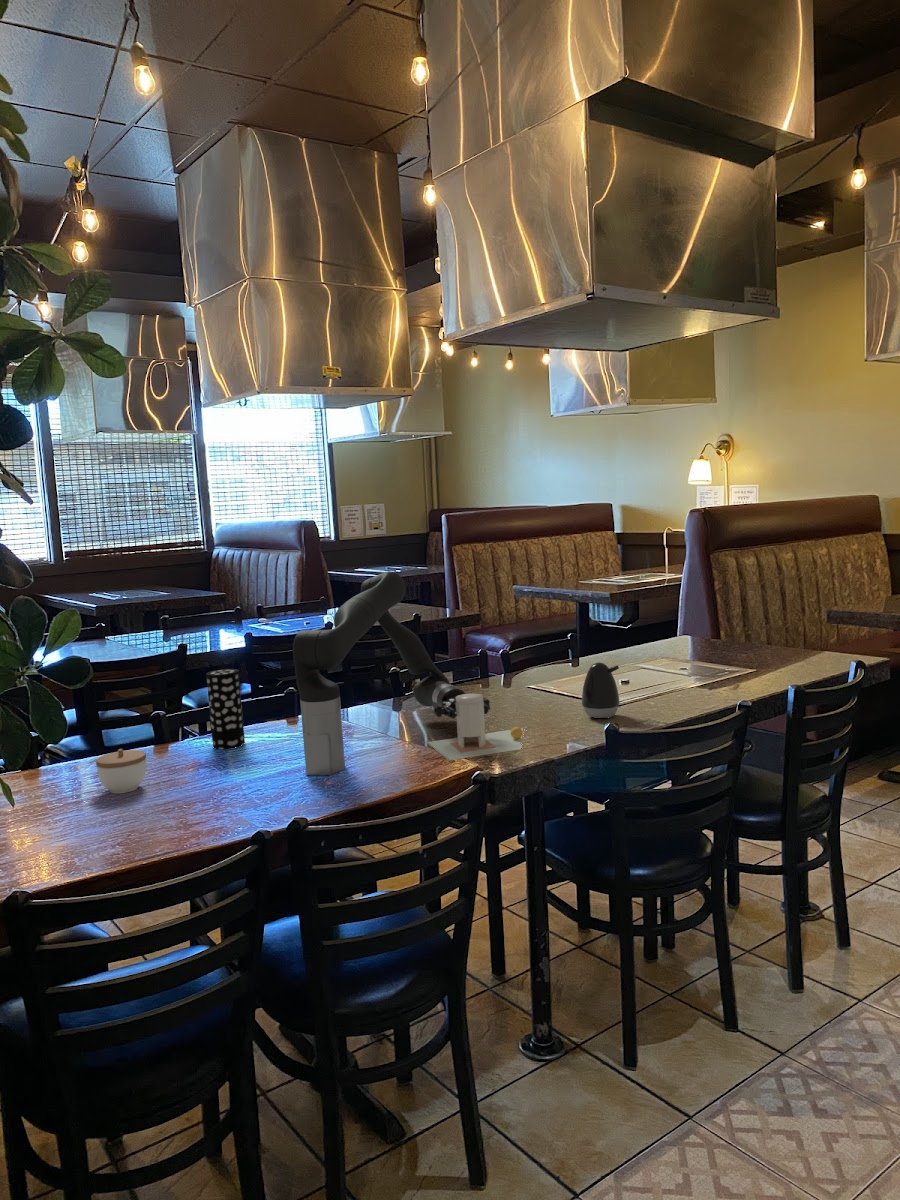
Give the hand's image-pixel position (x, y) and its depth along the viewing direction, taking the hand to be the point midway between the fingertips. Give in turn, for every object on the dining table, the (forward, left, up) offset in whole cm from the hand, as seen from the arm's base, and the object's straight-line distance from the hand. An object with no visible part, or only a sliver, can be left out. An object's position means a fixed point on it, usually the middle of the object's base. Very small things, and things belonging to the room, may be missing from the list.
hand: (470, 712), depth 216 cm
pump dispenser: (+30, -30, -9) cm, 44 cm away
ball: (+6, -10, -7) cm, 14 cm away
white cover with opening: (0, 0, -8) cm, 8 cm away
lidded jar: (-35, +75, -9) cm, 83 cm away
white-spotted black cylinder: (+1, +67, -9) cm, 67 cm away
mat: (+3, -5, -9) cm, 11 cm away
